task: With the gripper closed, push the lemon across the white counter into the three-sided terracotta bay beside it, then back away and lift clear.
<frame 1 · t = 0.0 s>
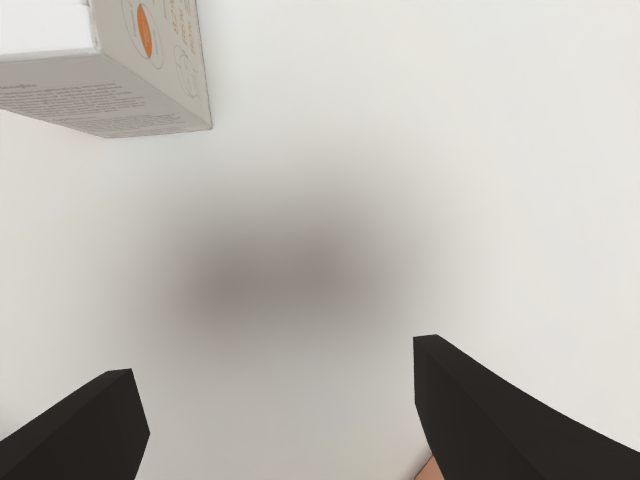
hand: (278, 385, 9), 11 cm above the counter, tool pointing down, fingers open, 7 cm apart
small box: (151, 57, 18), on the counter
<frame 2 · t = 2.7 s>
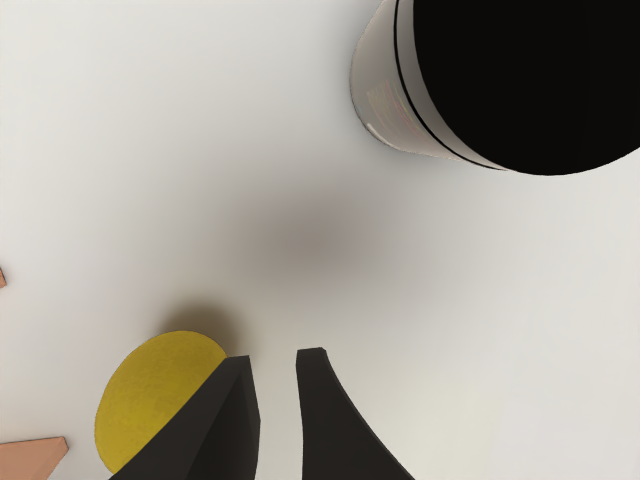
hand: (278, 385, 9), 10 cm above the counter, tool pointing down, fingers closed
lemon: (197, 346, 21), on the counter
supplement container: (416, 80, 17), on the counter
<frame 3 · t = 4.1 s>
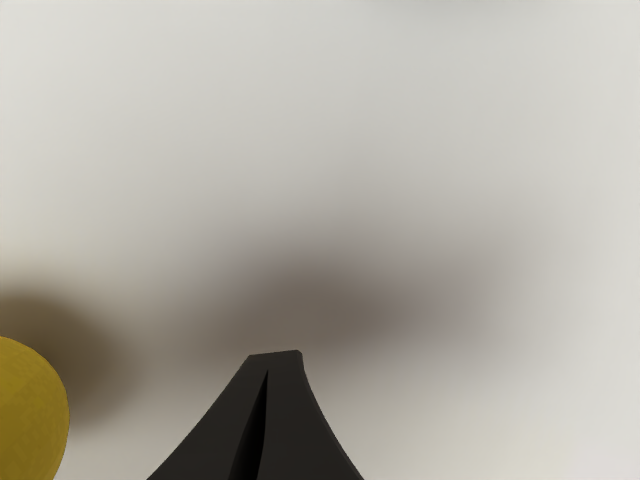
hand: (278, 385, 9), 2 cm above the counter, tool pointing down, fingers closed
lemon: (36, 359, 12), on the counter
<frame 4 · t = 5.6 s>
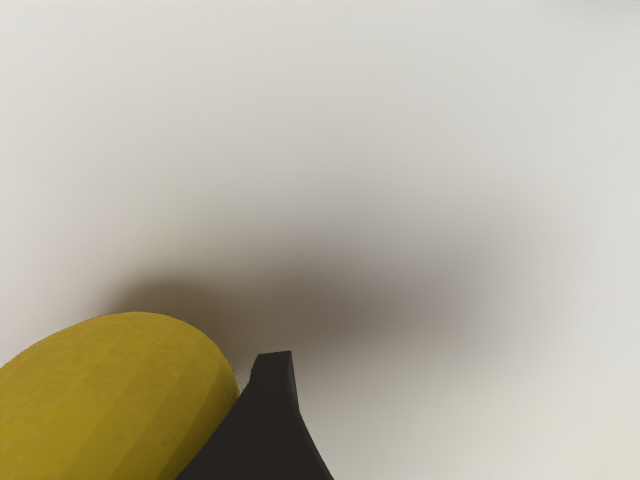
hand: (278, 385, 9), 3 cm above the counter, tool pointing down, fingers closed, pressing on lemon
lemon: (184, 345, 12), on the counter, touching gripper
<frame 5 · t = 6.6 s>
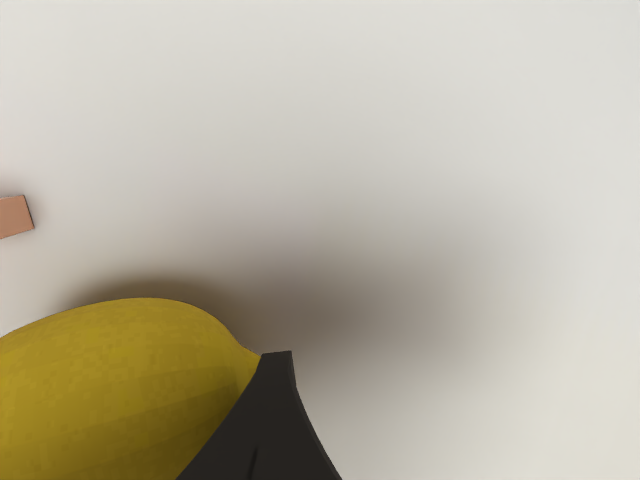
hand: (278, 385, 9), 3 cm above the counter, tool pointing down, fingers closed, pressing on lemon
lemon: (276, 367, 11), point 2 cm above the counter, touching gripper
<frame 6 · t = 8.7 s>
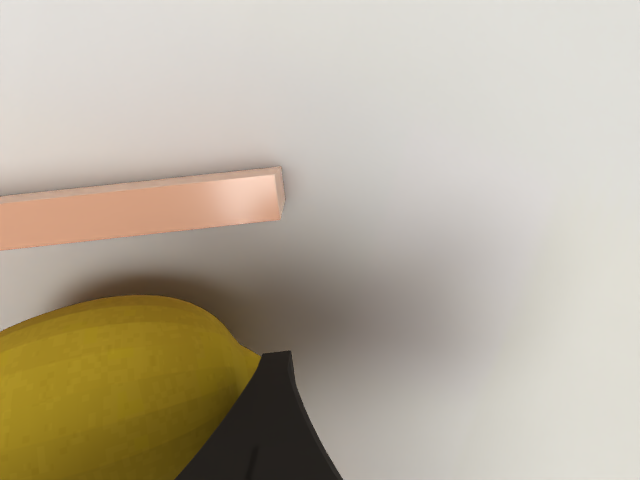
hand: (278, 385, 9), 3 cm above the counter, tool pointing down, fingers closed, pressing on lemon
lemon: (274, 366, 11), point 2 cm above the counter, touching gripper
terracotta bay: (155, 363, 12), on the counter
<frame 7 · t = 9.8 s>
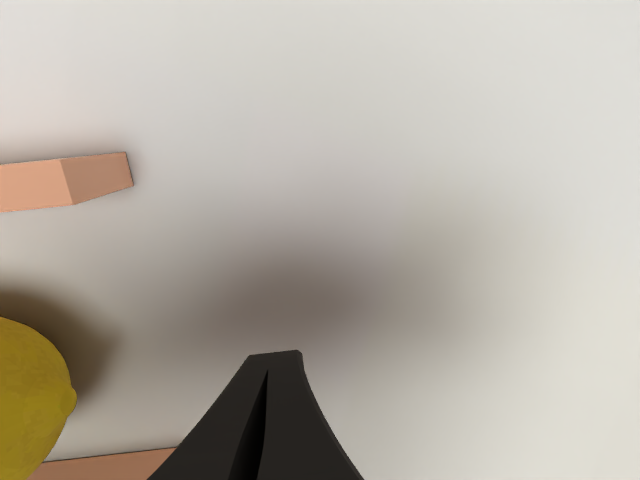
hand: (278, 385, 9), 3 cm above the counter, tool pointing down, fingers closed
lemon: (79, 400, 10), point 3 cm above the counter
terracotta bay: (22, 346, 12), on the counter
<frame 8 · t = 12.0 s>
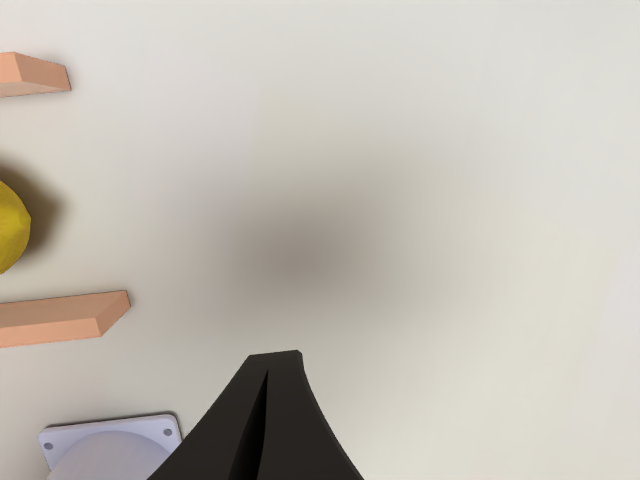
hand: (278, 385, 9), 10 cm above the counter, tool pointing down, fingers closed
lemon: (32, 218, 15), point 3 cm above the counter
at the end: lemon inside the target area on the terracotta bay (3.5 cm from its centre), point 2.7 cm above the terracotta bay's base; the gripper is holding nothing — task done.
